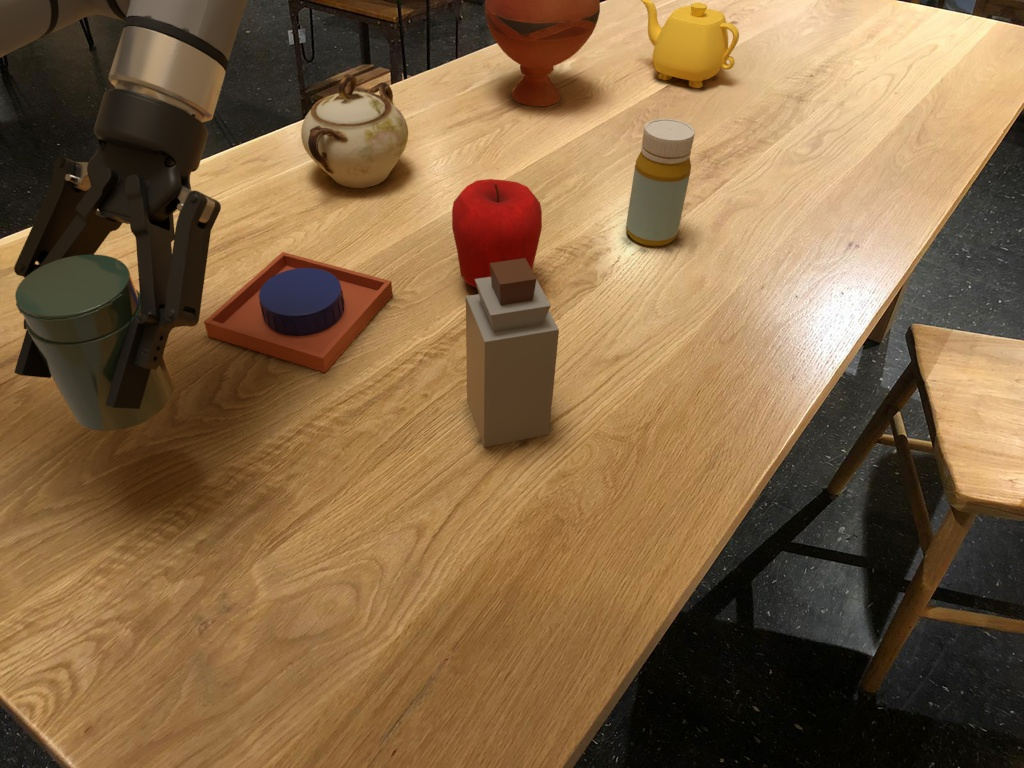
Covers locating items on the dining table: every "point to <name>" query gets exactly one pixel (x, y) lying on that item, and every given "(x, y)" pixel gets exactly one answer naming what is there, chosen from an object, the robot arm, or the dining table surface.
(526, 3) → the goblet
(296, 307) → the lid
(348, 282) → the tray
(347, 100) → the sugar bowl
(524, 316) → the perfume bottle
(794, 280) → the dining table surface
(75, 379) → the jar
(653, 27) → the teapot
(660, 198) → the bottle
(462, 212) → the apple
